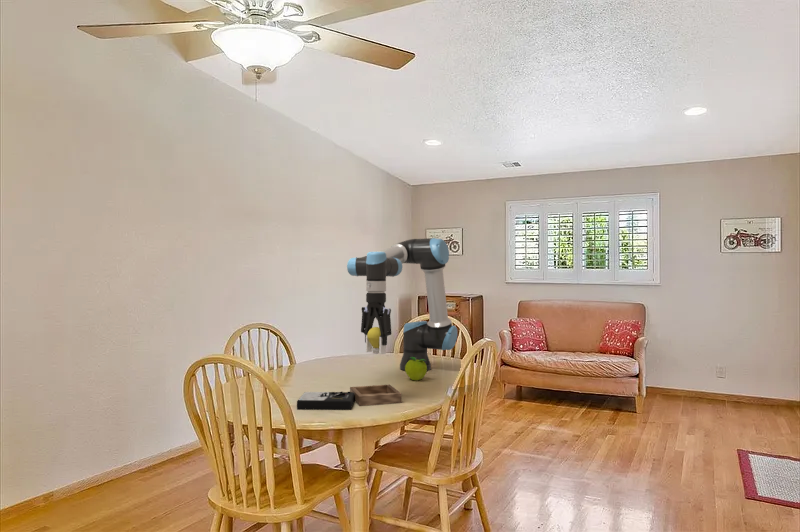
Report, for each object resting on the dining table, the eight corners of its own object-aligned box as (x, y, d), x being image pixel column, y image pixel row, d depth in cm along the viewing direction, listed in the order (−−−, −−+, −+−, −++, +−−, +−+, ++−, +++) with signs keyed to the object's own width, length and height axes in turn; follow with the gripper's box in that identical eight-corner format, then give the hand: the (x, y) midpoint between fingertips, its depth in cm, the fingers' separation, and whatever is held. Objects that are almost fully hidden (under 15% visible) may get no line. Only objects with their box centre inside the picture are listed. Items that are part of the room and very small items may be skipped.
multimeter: (350, 411, 189) (350, 397, 189) (296, 410, 190) (296, 396, 190) (354, 401, 202) (354, 388, 202) (303, 401, 203) (303, 388, 203)
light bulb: (366, 351, 208) (367, 326, 208) (384, 351, 209) (384, 325, 209) (367, 354, 202) (367, 328, 202) (385, 354, 202) (385, 328, 202)
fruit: (415, 376, 246) (415, 354, 246) (430, 380, 239) (430, 357, 239) (401, 379, 239) (401, 357, 239) (416, 383, 233) (416, 360, 233)
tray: (389, 392, 215) (389, 384, 215) (401, 402, 199) (401, 393, 199) (350, 395, 210) (350, 387, 210) (359, 406, 195) (359, 396, 195)
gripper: (351, 291, 209) (351, 351, 209) (387, 293, 196) (387, 356, 196) (365, 291, 215) (365, 349, 214) (401, 292, 201) (401, 354, 201)
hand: (375, 352), depth 205 cm, fingers closed on light bulb, 7 cm apart
